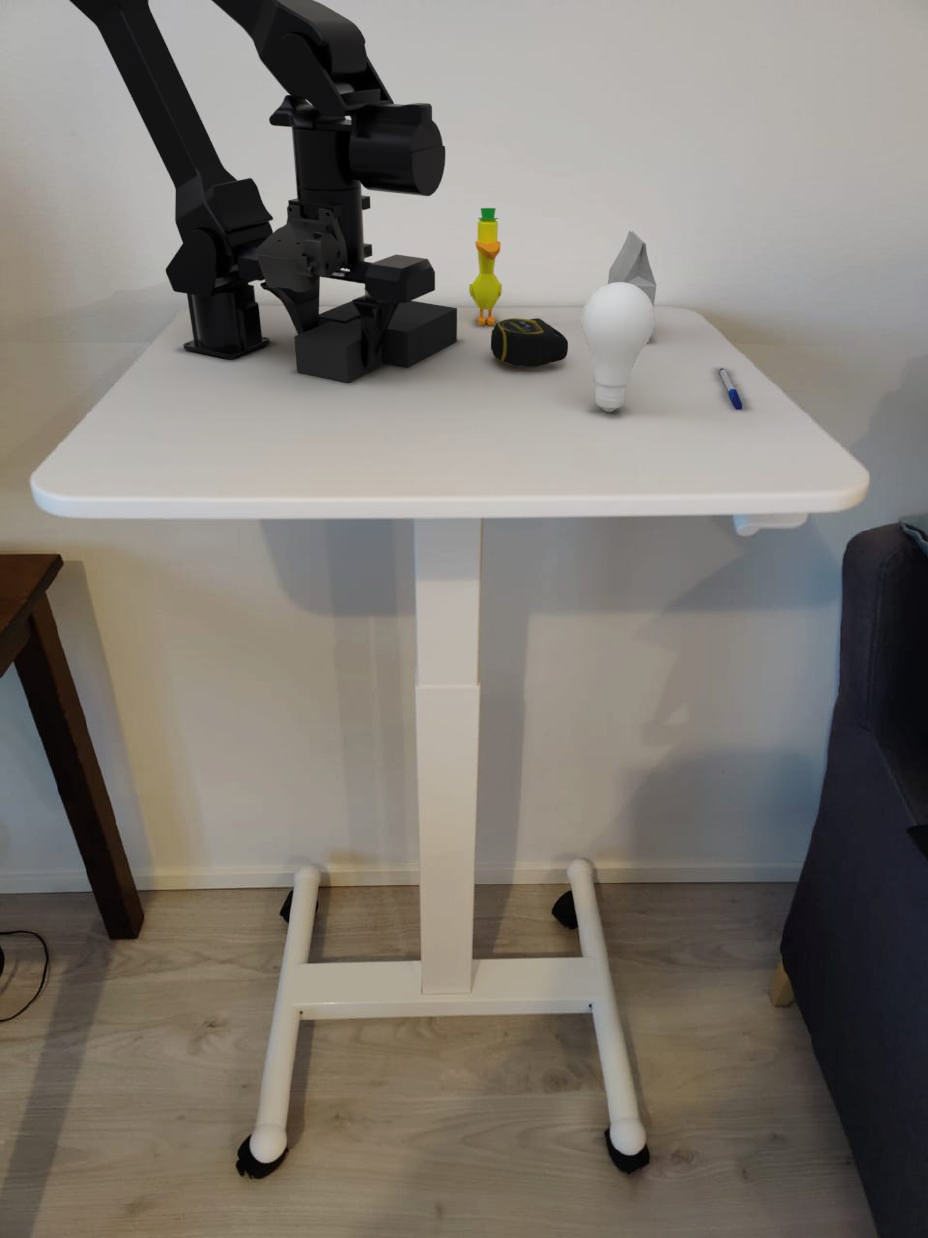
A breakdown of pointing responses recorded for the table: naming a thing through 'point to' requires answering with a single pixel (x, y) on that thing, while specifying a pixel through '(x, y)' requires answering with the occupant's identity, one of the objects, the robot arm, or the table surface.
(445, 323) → the notch pad
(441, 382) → the table surface
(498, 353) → the tape measure
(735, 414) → the table surface
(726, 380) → the blue marker pen
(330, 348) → the pad
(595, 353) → the lightbulb
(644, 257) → the grey faceted shape
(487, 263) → the toy figure
